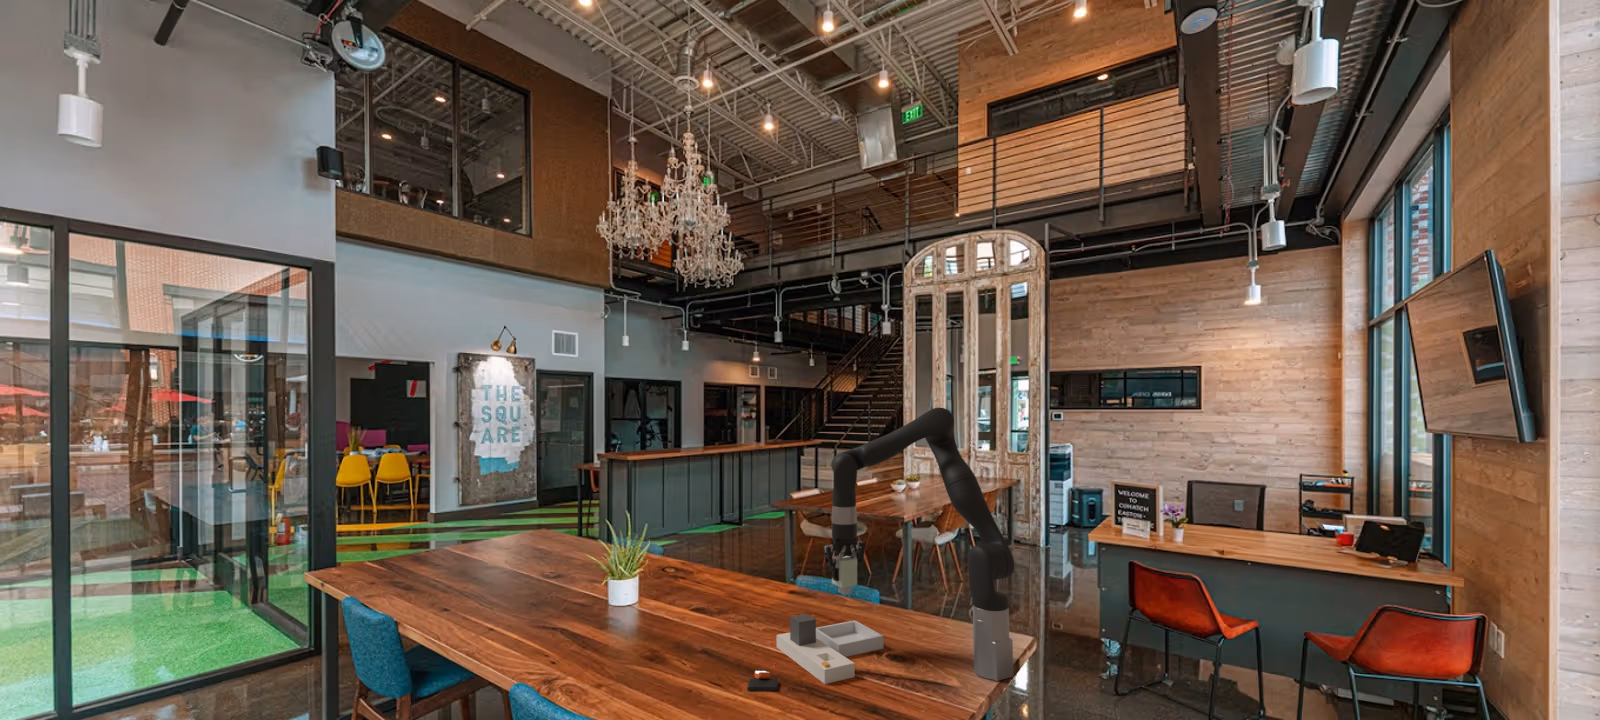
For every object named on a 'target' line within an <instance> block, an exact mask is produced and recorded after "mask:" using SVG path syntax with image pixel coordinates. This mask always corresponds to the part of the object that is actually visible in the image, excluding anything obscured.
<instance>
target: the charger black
mask: <svg viewBox="0 0 1600 720" xmlns="http://www.w3.org/2000/svg"><path fill="white" fill-rule="evenodd" d="M789 618H790V620H789V624H790V625H789V626H790V627H789V631H790V640H791V641H793V642H794V643H796V644H797V645H798V646H801V645H806V644H811V643H816V628H817V627H816V626H817V621H816V618H815V617H813V616H811V615H809V614H807V613H803V614H799V615H792V616H789Z"/></svg>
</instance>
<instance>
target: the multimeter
mask: <svg viewBox="0 0 1600 720" xmlns="http://www.w3.org/2000/svg"><path fill="white" fill-rule="evenodd" d="M776 665H777V664H776V661H775V662H774V663H773V667H772V668H773V669H775V666H776ZM752 672H754V678H749V679H748V683H747V687H746V688H747V692H777V691H778V685H779V678H771V672H770V671H766V670H762V668H760V669H759V668H757V669H754V670H753V671H752Z"/></svg>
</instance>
